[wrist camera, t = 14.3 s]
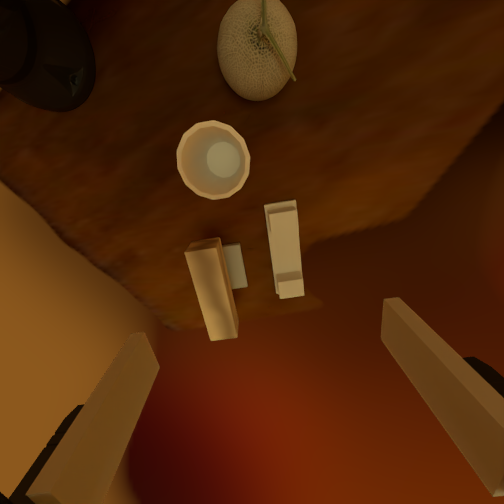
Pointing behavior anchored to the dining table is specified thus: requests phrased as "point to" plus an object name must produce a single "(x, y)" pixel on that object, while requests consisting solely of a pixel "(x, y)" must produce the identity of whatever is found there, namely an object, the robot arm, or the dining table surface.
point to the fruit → (257, 48)
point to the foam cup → (213, 160)
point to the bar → (213, 287)
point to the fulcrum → (235, 265)
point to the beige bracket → (285, 247)
